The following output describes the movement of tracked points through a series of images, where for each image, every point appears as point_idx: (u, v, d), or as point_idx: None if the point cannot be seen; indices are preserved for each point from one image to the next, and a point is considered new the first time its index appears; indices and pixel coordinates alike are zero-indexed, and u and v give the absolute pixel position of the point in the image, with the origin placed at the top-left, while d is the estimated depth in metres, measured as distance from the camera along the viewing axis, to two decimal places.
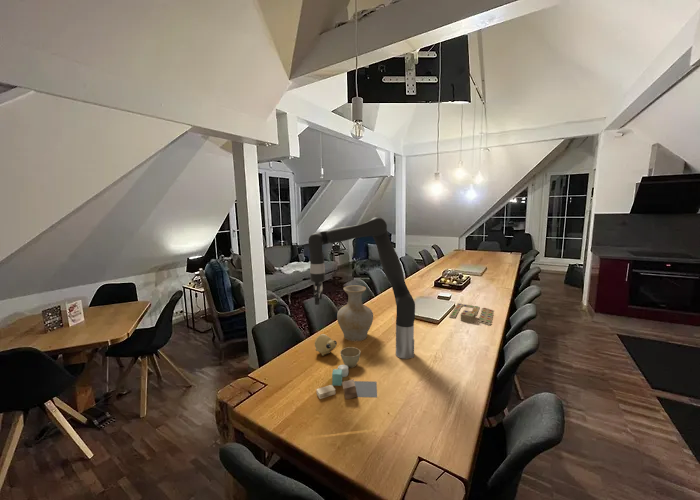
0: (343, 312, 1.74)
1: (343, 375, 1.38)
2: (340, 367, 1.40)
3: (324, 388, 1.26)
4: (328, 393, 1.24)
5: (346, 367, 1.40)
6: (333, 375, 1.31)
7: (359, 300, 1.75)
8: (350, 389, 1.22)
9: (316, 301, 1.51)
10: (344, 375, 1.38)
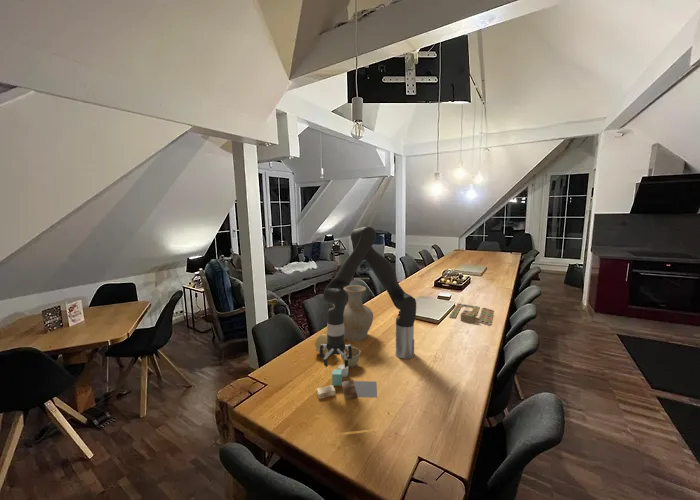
0: None
1: (343, 375, 1.38)
2: (340, 367, 1.40)
3: (324, 388, 1.26)
4: (327, 393, 1.24)
5: (346, 367, 1.40)
6: (333, 375, 1.31)
7: (359, 300, 1.75)
8: (349, 389, 1.22)
9: (347, 362, 1.32)
10: (344, 375, 1.38)
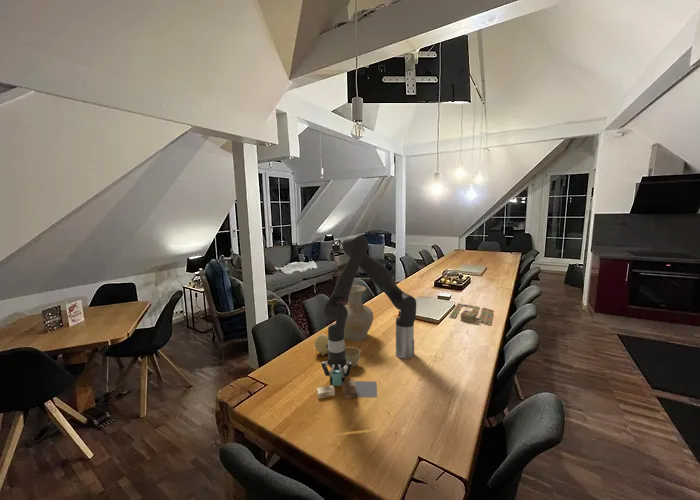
0: None
1: None
2: None
3: (324, 388, 1.26)
4: (327, 393, 1.24)
5: (346, 366, 1.40)
6: (333, 375, 1.31)
7: (359, 300, 1.75)
8: (349, 389, 1.22)
9: (344, 380, 1.33)
10: None
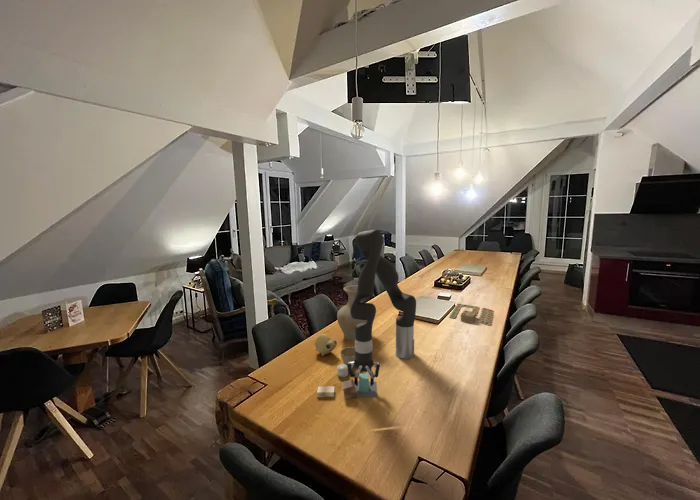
0: (343, 312, 1.74)
1: (347, 373, 1.39)
2: (340, 368, 1.39)
3: (325, 388, 1.26)
4: (326, 393, 1.24)
5: (344, 365, 1.41)
6: (360, 380, 1.26)
7: None
8: (349, 389, 1.22)
9: (373, 381, 1.28)
10: (347, 372, 1.39)
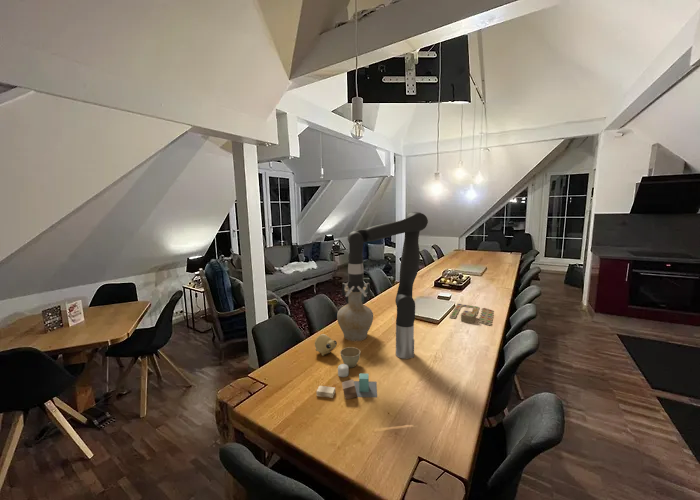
0: (343, 312, 1.74)
1: None
2: (345, 368, 1.38)
3: (325, 388, 1.26)
4: (325, 393, 1.24)
5: (340, 366, 1.40)
6: (360, 380, 1.26)
7: (359, 300, 1.75)
8: (349, 389, 1.22)
9: (366, 299, 1.49)
10: None
